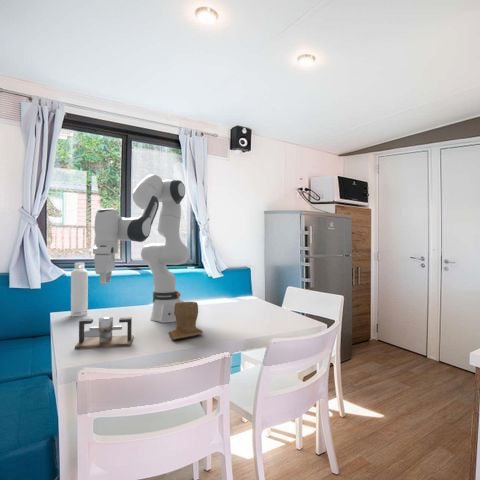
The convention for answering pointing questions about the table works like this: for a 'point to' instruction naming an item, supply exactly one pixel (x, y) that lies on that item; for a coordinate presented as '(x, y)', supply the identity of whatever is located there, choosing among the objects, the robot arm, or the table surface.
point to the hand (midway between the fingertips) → (105, 283)
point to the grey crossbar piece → (105, 325)
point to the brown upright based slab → (185, 320)
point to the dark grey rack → (104, 336)
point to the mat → (91, 334)
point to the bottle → (79, 290)
